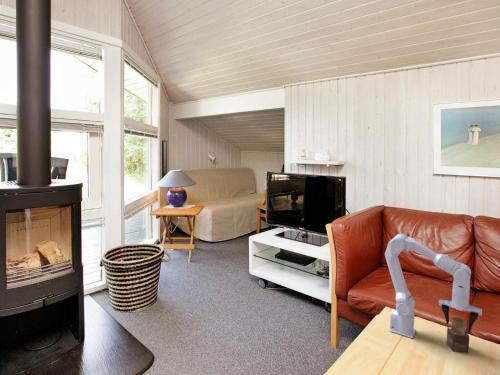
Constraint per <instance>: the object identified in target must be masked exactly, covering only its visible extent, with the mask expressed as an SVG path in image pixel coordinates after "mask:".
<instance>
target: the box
mask: <svg viewBox="0 0 500 375" xmlns="http://www.w3.org/2000/svg"><path fill="white" fill-rule="evenodd" d="M446 328H447V329H446V344H447V346H448V347H449V348H450V349H451V351H452V352H455V353H456V352H458V353H466V354H467V353H468V354H469V345H470V335H469V334H468V333H467V332H466V331H465V335H464V336H463V335H460V334H456V333H453V332H451V326H448V327H446Z"/></svg>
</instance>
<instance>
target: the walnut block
mask: <svg viewBox="0 0 500 375" xmlns="http://www.w3.org/2000/svg"><path fill="white" fill-rule="evenodd" d="M466 324H467V319H465V318H462V317H458V316H454V315H452V319H451V326H450V327H451V332H453V333H456V334H460V335H463V336H464V335H465V332H466Z"/></svg>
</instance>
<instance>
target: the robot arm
mask: <svg viewBox="0 0 500 375" xmlns="http://www.w3.org/2000/svg"><path fill="white" fill-rule="evenodd" d="M404 250H405V252H416V254H417V253H418V254H420V255H421V256H422V257H425V258H427V259H429V260H431V261H433V262H432V263H433V265H434V266H436V267H438V268H439V269H441V270H442V271H444V272H445V273H447V274H449V275H451V276H452V277H453V281H452V291H451V292H452V294H451V300H446V299H440V298H439V300H438V306H440V307H441V311H442V313H443V314H444V317H445V324H446V325H449V323H450V308H451V309H455V310H457V311H460V312H461V311H465V312H467V313H469V315H470V316H469V323H468V324H469V325H468V331H472V328H473V326H474V323H475V322H476V321H477V320H478V318H479V316H481V317H482V316H483V315H482V314H483V309H482V308H480V307H479V308H478V307H476V306H473V305H471V304H469V303H470V290H471V289H470V288H471V285H470V284H471V283H470V282H471V281H470V280H471V275H472V271H471V269H470V267H469V266H468V265H467V264H465V263H462V262H460V261H456V260H454V259H453V258H450V256H449V255H450V254H447V253H445V254H443V253H436V252H434V251H433V250H431V249H430V248H429V247H427V246H425V245H424V244H422V243H420V242H418V241H417V240H415V239H414V238H412V237H411V236H407V234H405V233H398V234H396V235H395V236H394V237H393V238H391V240H389V241H388V243H387V247H386V250H385V252H384V257H385V260H386V263H387V268H388V270H389V274H390V277H391V280H392V284H393V287H394V290H395V302H396V304H395V309H393V308H392V310H391V313H390V322H389V332H391V333H394V334H397V335H400V336H404V337H408V338H410V339H414V336H415V334H416V331H417V330H416V328H415V311H414V310H413V309H414V308H415V306H416V300H415V299H414V297H413V296H412V295H411V292H410V291H409V289H408V286H407V283H406V280H405V277H404V274H403V270H402V266H401V262H400V259H399V255H400V254H401V252H403V251H404Z"/></svg>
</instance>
